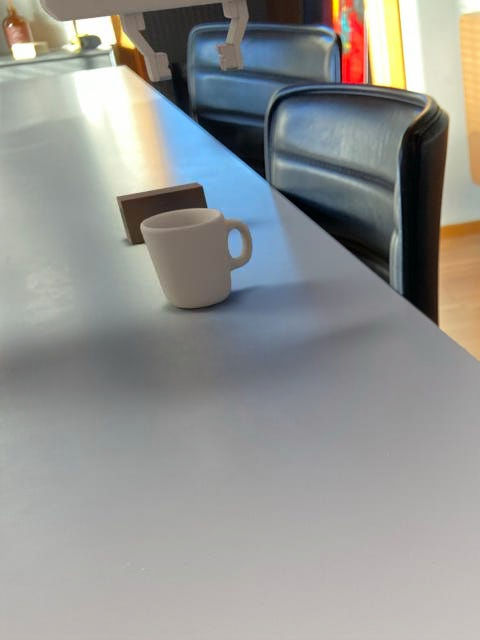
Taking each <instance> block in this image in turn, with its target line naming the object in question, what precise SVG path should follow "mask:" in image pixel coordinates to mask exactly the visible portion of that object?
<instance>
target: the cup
mask: <svg viewBox="0 0 480 640" xmlns="http://www.w3.org/2000/svg"><path fill="white" fill-rule="evenodd" d="M140 229H141V232H142V235H143V238H144V240H145V242H144V243H145V246H146V248H147V251H148V254H149V257H150V260H151V262H152V266H153V268H154V271H155V273H156V277H157V278H158V281H159V284H160V287H161V290H162V292H163V294H164V297H165V298H166V300H167V301H168V302H169V304H171V305H172V306H174V307H177V308H181V309H199V308H206V307H209V306H214V305H216V304H218V303H219V304H220V303H221V302H223V301H225V300H226V299H227V298H228V297H229V296H230V294H231V291H232V274H231V273H232V272H233V271H235V270H237V269H239V268H242V267H244V266H245V265H247V264H248V263H249V262H250V260H251V258H252V257H253V250H254V249H253V237H252V234H251V230H250V228H249V227H248V225H247V224H246V223H245V222H244V221H242V220H240V219H237V218H232V217H225V216H224V214H223V212H222V211H220V210H219V209H215V208H209V207H208V208H194V209H183V210H176V211H171V212H166V213H162V214H158V215H155V216H152V217H150V218H148V219H146V220H144V221H143V222H142V223H141V225H140ZM232 230H237V231H238V233H239V235H240V238H241V251H240V254H239V255H238V256H237V257H233V256H232V254H231V252H230V248H229V234H230V233H231V231H232Z"/></svg>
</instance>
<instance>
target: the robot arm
mask: <svg viewBox="0 0 480 640" xmlns="http://www.w3.org/2000/svg"><path fill="white" fill-rule="evenodd" d="M38 1H39V4H40V7H41V9H42V10H43V11H44V12H45V13H46V14H47V15H48V16H50V17H51V18H52V19H53V20H55V21H57V22H61V23H62V22H63V23H64V22H72V21H79V20H88V19H96V18H105V17H112V16H118V18H119V22H120V26H121V30H122V32H123V33H124V34H125V36H126V37H127V38H128V39H129V41H130V42H131V43H132V45H133V46H134V47H135V49H137V51H138V52H139V53H140V54H141V56H143V59H144V63H145V68H146V72H147V75H148V78H149V80H150V81H151V82H152V83H156V82H162V81H163V82H164V81H169V80H172V78H173V77H172V71H171V69H170V68H169V64H170V62H169V58H168V54H167V53H166V52H162V51H161V52H160V51H159V52H155V51H154V49H153V48H152V47H151V46H150V44H149V42H148V41H147V40H146V39H145V38H144V36H143V35H142V34H141V32H140V31H145V30H146V24H145V23H146V22H145V19H144V14H143V13H145V12H154V11H162V10H170V9H179V8H186V7H188V8H189V7H195V6H205V5H211V4H212V5H213V4H220V3H221V6H222V11H223V15H224V17H225V18H227V19H231V21H230V24H229V27H228V31H227V36H226V40H225V43H220V44H215V46H216V52H217V55H218V57H220V58H219V60H218V62H219V66H220V69H221V71H223V72H231V71H239V70H244V60H243V55H242V49H241V44H242V42H243V38H244V35H245V31H246V28H247V25H248V22H249V18H250V15H249V10H248V4H247V0H38Z"/></svg>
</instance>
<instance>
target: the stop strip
mask: <svg viewBox="0 0 480 640" xmlns="http://www.w3.org/2000/svg"><path fill="white" fill-rule="evenodd" d="M115 198H116V202H117V205H118V209H119V213H120V217H121V220H122V224H123V228H124V232H125V235H126V240H127V241H128V242H129V243H130V244H131V245H136V244H142V243H145V240H144V238H143V235H142V232H141V229H140V225H141V223H142V222H143V221H144V220H146V219H148V218H150V217H152V216H155V215H158V214H162V213H166V212H171V211H176V210H183V209H194V208H208V209H209V207H208V202H207V199H206V193H205V190H204V186H203V185H201V184H200V183H199V182H197V181H196V182H191V183H185V184H180V185H175V186H174V185H173V186H169V187H162V188H158V189H157V188H156V189H151V190H146V191H141V192H135V193H134V192H133V193H129V194H123V195H118V196H116V197H115Z"/></svg>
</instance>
